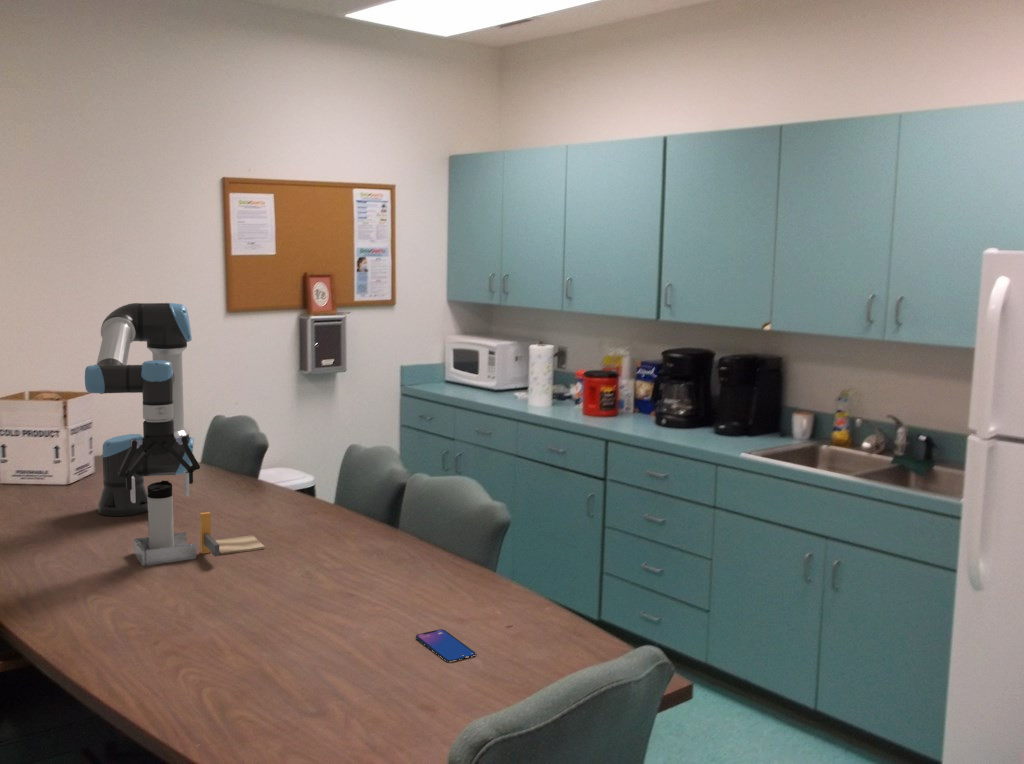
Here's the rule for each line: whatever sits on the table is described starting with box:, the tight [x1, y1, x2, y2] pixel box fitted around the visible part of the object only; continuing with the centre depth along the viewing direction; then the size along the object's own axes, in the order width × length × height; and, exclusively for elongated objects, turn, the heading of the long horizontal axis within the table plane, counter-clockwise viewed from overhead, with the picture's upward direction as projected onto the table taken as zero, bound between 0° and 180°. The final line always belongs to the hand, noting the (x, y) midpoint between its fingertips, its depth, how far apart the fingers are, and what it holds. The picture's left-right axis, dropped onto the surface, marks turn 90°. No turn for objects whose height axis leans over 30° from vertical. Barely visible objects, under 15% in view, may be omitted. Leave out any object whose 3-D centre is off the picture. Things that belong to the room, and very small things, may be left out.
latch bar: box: [199, 511, 221, 557], centre depth 250 cm, size 13×2×11 cm, turn 32°
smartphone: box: [415, 628, 477, 662], centre depth 199 cm, size 7×1×15 cm
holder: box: [133, 531, 197, 567], centre depth 252 cm, size 12×14×4 cm
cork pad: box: [214, 534, 266, 556], centre depth 262 cm, size 12×12×1 cm
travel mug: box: [146, 480, 175, 549], centre depth 250 cm, size 6×7×20 cm
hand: (160, 499), depth 249 cm, fingers open, 13 cm apart
